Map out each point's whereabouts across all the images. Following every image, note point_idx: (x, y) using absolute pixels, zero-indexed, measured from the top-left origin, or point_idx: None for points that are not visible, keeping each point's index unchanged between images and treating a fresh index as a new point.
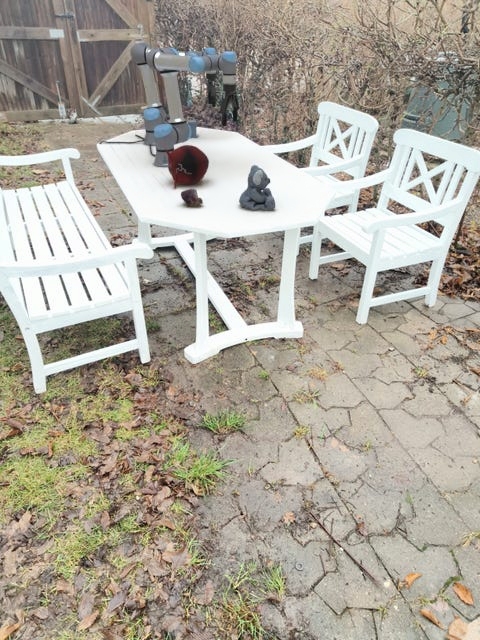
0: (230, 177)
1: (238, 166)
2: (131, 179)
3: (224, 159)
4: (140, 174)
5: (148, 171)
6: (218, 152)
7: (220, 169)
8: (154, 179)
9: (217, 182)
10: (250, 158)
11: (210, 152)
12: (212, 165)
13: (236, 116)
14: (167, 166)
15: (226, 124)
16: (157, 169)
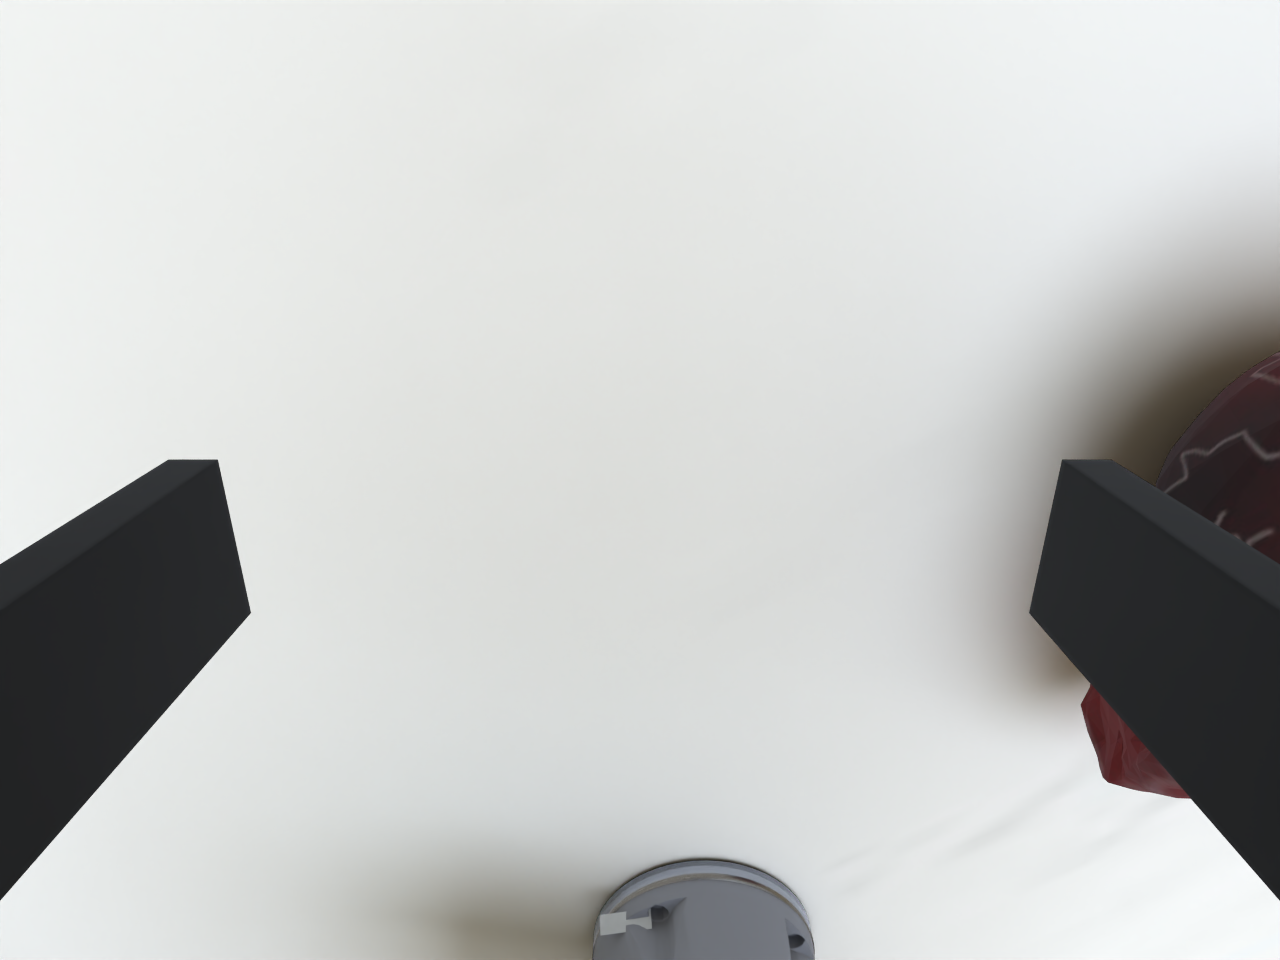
0: (926, 135)
1: (434, 271)
2: (1225, 936)
3: (270, 564)
4: (1074, 948)
5: (973, 940)
6: None
7: (656, 417)
8: (1191, 801)
9: (1171, 193)
10: (18, 295)
11: (136, 802)
12: (554, 569)
13: (92, 565)
14: (789, 891)
15: (1129, 481)
16: (894, 914)
